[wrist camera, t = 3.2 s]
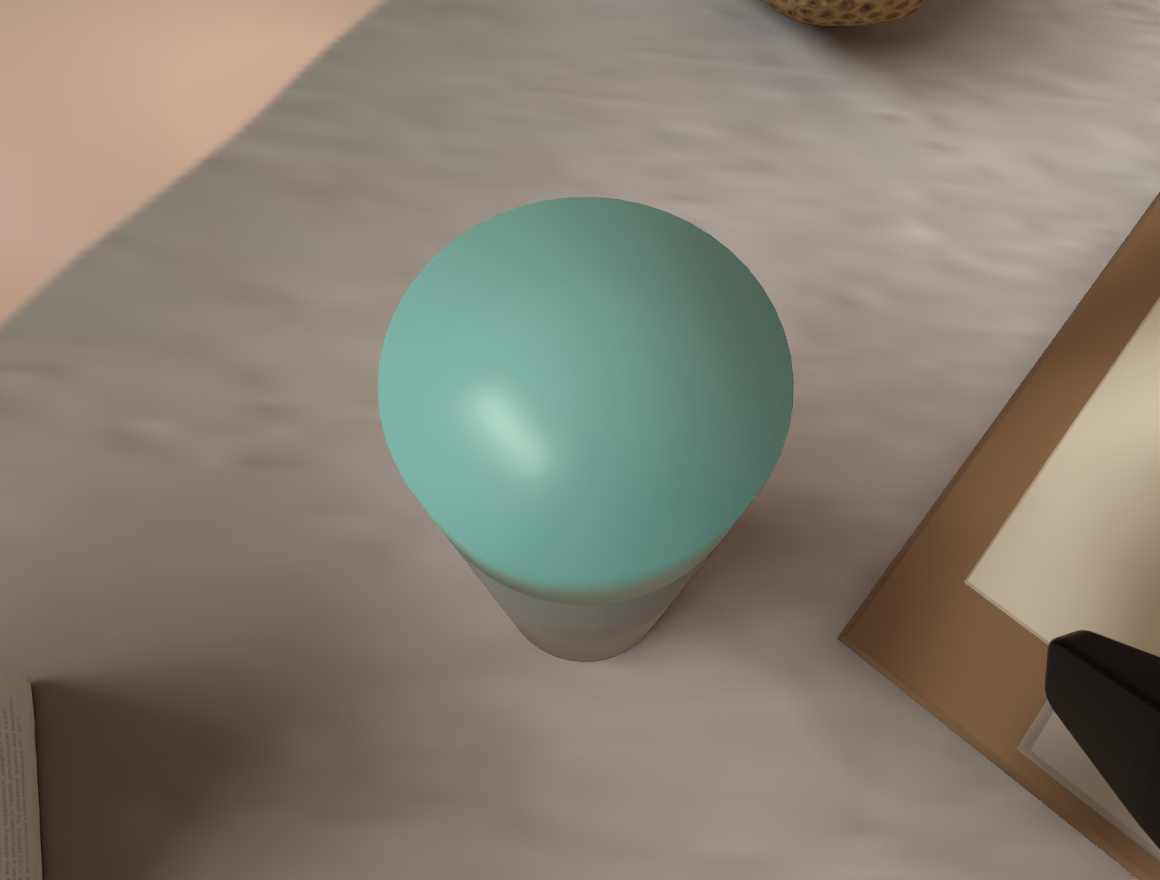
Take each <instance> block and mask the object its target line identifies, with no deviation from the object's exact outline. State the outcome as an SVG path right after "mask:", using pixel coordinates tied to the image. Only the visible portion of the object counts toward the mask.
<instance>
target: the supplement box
mask: <svg viewBox="0 0 1160 880" xmlns="http://www.w3.org/2000/svg"><path fill="white" fill-rule="evenodd" d="M0 880H42V859H41V844H40V818H39V799H38V783H37V759H36V745H35V721H34V708H33V700H32V691H31V685H30V683H29V681H28V680H26V679H24V678H13V677H0Z"/></svg>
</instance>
